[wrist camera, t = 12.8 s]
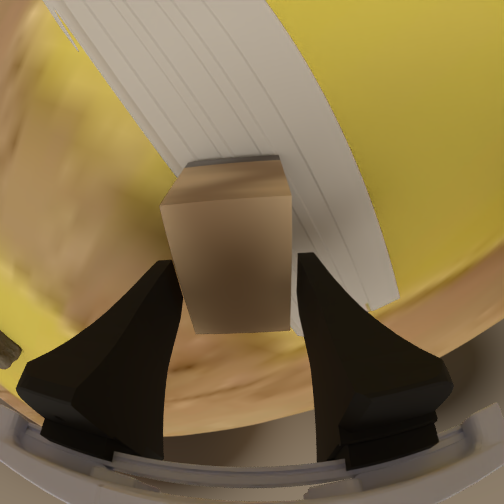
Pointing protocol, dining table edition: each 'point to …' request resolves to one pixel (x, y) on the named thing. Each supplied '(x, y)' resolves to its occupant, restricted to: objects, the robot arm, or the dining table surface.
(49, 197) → the dining table surface
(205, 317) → the block
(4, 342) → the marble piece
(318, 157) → the baseboard
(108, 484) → the robot arm
